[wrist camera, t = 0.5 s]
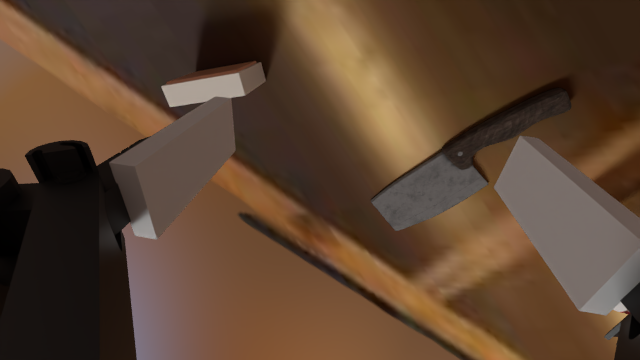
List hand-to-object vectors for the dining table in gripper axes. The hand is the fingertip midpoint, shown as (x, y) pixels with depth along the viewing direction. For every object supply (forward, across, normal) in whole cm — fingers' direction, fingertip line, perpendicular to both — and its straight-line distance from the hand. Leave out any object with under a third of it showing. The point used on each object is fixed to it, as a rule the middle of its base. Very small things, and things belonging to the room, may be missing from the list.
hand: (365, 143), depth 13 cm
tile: (+27, -18, -5) cm, 33 cm away
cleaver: (+27, +16, -14) cm, 35 cm away
